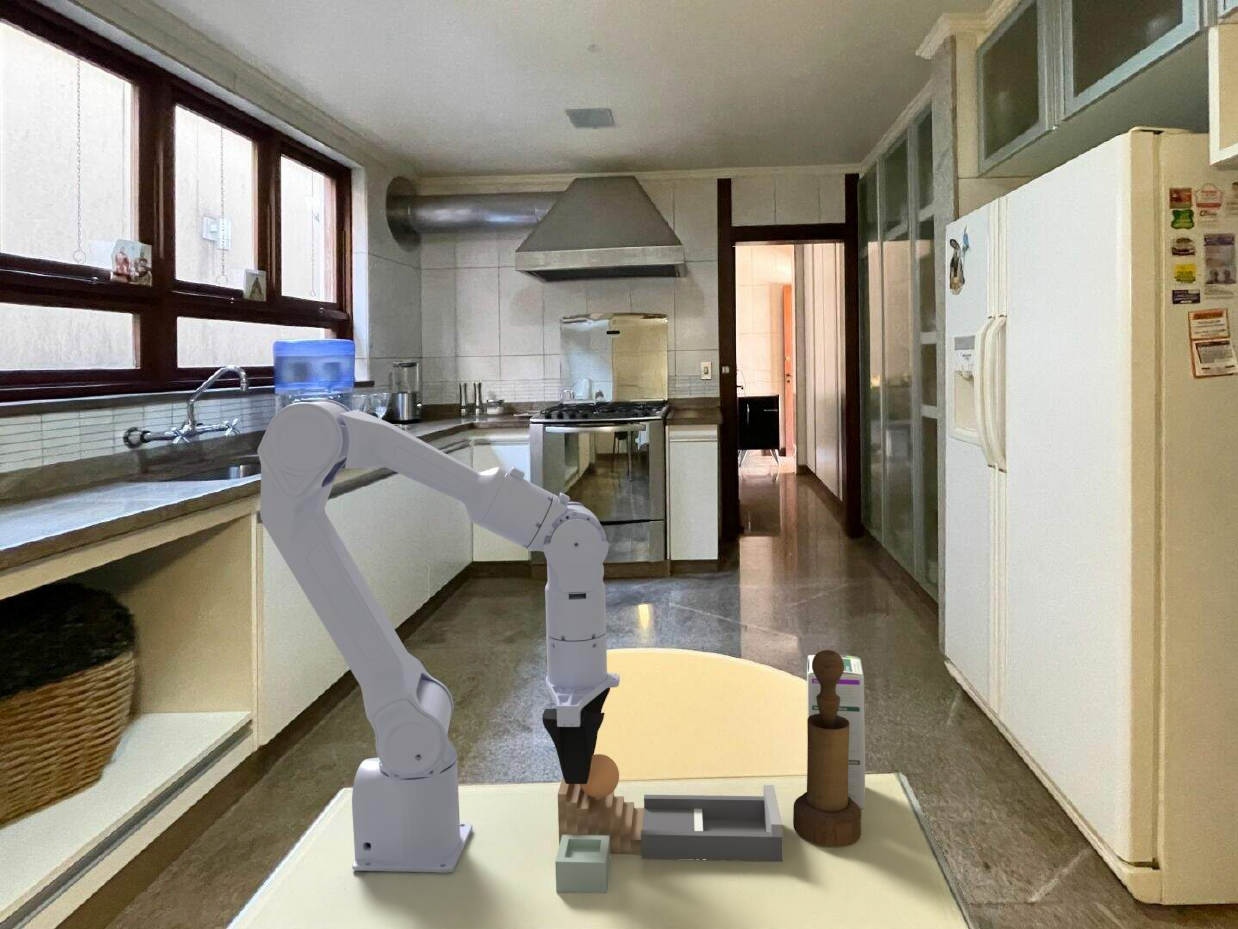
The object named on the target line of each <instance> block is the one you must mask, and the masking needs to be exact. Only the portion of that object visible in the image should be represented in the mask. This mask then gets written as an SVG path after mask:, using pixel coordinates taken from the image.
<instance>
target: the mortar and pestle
mask: <svg viewBox="0 0 1238 929" xmlns="http://www.w3.org/2000/svg"><path fill="white" fill-rule="evenodd" d="M840 655H841V654H839V653H837V652H836V651H835V650H831V649H825V650H820V651H818V652H817V653H816V654H815V656H814V658H813V661H812V670H813V672H814V674H815V676H816V678H817V680H818V682H819V683H820V687H821V690H820V694H818V695H817V696H816V700H817V705H818V709H819V713H820V714H814V715H811V716H809V717H808V716H807V720H806V721H807V722H806V724H807V726H806V727H807V728H806V729H807V730H806V731H807V732H806V733H807V751H806V754H807V759H806V760H807V761H806V763H807V765H806V768H807V770H806V792H804V793H803V794H802V795H800V796H798V797H797V798H796V799H795V800H794V803H793V808H792V810H793V812H792V813H793V815H792V818H793V819H792V825H793V829H794V831H795V833H797V835H799V836H800V837H801V838H802V839H804V840H805V841H806V842H809V843H812V844H815V845H818V846H823V847H828V848H839V847H840V848H841V847H847V846H851V845H853V844H855V843H858V841H859V840H860V838H861V836H862V809H860V807H859V806H858V805H857V804H856V803H855V802H854V801H853V800H852V799H851V798H850V797H849V796H848V759H849V721H848V720H847V719H846V718H844V717H842V716H838V715H837V712H838V709H839V705H840V697H839V696H838V695H837V694H836V690H835V689H836V685H837V683H838V681H839V679H840V678H841V676H842V674H843V671H844V663H843V660H842V658H841V656H840Z"/></svg>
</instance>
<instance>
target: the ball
mask: <svg viewBox="0 0 1238 929" xmlns="http://www.w3.org/2000/svg"><path fill="white" fill-rule="evenodd" d="M619 770H620V769H619V768H618V765H617V764H616V762H615V761H614V760H613V759H612V758H611V757H609V756H608V755H605V754H601V753H594V755H592V761H591V768H590V773H589V778H588V782H587V784H579V785H580V787H581V789H582V790H583V791H584V792H585V793H586V794H587V795H589V796H591V797H594V798H602V797H606V796H608V795H610V794H611V793H612V792H613V791H614V792H615V790H616V789H617V787H618V784H619V781H620V771H619Z"/></svg>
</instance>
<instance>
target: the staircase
mask: <svg viewBox="0 0 1238 929" xmlns="http://www.w3.org/2000/svg"><path fill="white" fill-rule="evenodd" d="M560 781H561V782H560V785H559V788H558V792H557V812H558V813H557V815H558V816H557V818H558V819H557V821H558V846H559V845H560V842H561V838H562V835H602V836H610V855H611V854H612V855H613V854H614V855H617V854H618V855H619V854H620V855H641V830H642V827H643V815H644V807H635V801H625V796H624V795H623V796H622V795H621V796H620V795H618V796H617V795H615V790H614V791H613V792H612V793H611V794H610V795H608V796H606V797H602V798H594V797H591V796H589V795H587V794H586V793H585V792H584V791H583V790H582V789H581V787H580V785H579V784H566V783H565V780H564V778H563V776H562V777H561V780H560Z"/></svg>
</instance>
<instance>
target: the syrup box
mask: <svg viewBox="0 0 1238 929" xmlns="http://www.w3.org/2000/svg"><path fill="white" fill-rule="evenodd" d="M815 655H816V654H815ZM815 655H814V654H808V656H807V666H806V687H807V688H806V689H807V691H806V692H807V693H806V694H807V695H806V696H807V698H806V700H807V701H806V702H807V718H808V717H809V716H811V715H814V714H820V713H819V709H818V705H817V700H816V696H817V695H818V694H820V690H821V687H820V683H819V682H818V680H817V678H816V676H815V674H814V672H813V670H812V661H813V658H814V656H815ZM839 655H840V656H841V658H842V660H843V663H844V671H843V674H842V676H841V678H840V679H839V681H838V683H837V685H836V689H835V690H836V694H837V695H838V696H839V697H840V705H839V709H838V712H837V715H838V716H842V717H844V718H846V719H847V720H848V721H849V759H848V796H849V797H850V798H851V799H852V800H853V801H854V802H855V803H856V804H857V805H858V806H859V807H860V810H865V805H866V801H865V800H866V735H865V734H866V728H865V727H866V726H865V724H866V723H865V675H864V672H863V665H862V659H861V657H859V656H855V655H854V656H853V655H846V654H839Z"/></svg>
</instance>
